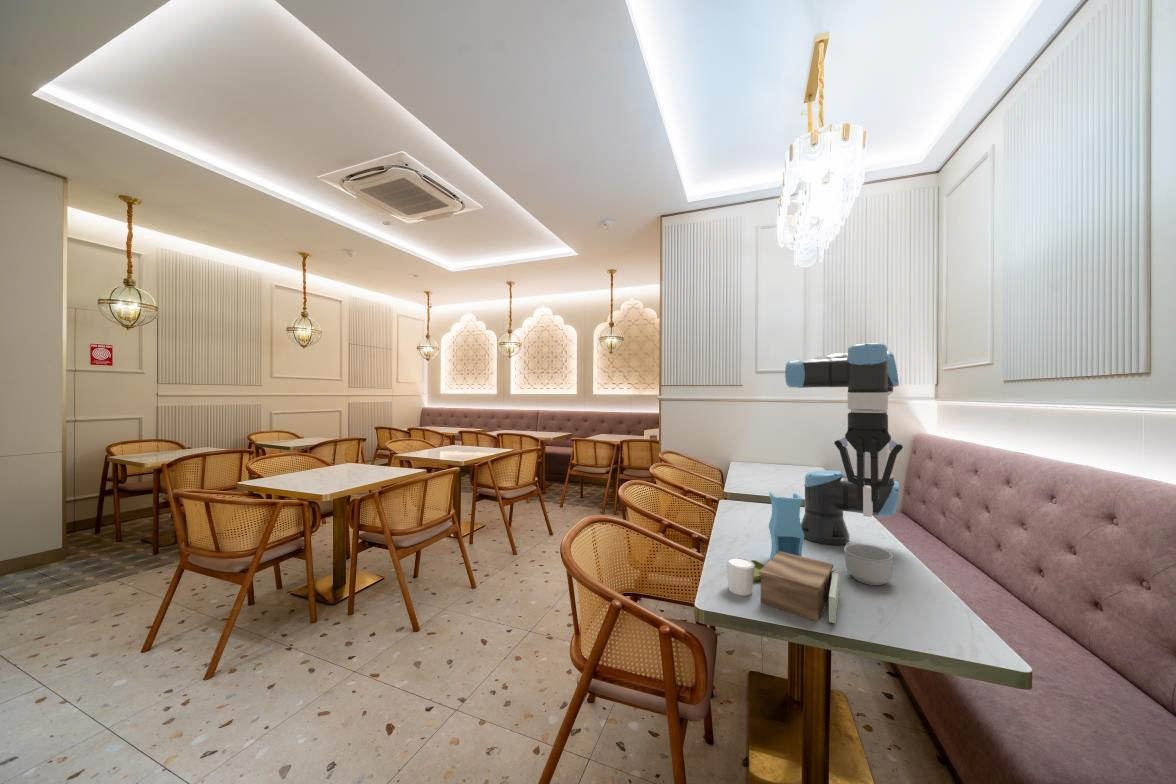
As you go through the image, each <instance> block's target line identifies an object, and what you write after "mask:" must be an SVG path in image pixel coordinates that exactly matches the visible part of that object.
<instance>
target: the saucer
mask: <svg viewBox="0 0 1176 784" xmlns="http://www.w3.org/2000/svg"><path fill="white" fill-rule="evenodd" d="M750 561H751V562H753V563H754V564H755V567H754V577H753V582H756V581H761V574H759V571H760V570H761V569H762V568H763V567H764V566H765V565H766V564H763V563H762V562H760V561H758V560H754V559H752V560H751V559H750Z"/></svg>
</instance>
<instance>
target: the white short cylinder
mask: <svg viewBox="0 0 1176 784" xmlns="http://www.w3.org/2000/svg"><path fill="white" fill-rule="evenodd" d="M725 564H726V576H727V577H726V578H727V585H728V586H727V587H728V590H729V591H730V592H731V593H732V594H735V595H737V596H738V595H739V596H744V597H745V596H750V595H752V593H753V587H754V581H753V577H754V567H755V564H754V563H753V562H751V559H750V560H749V559H747V558H743V557H729V558H727V559H726V561H725Z"/></svg>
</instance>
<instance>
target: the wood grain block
mask: <svg viewBox="0 0 1176 784" xmlns="http://www.w3.org/2000/svg"><path fill="white" fill-rule="evenodd" d="M764 565H765V566H764V567H763V568H762V569H761V570H760V571H759V574H761V580H760V604H765V605H767V606H770V607H773V608H776V609H779V610H782V611H784V612H788V613H790V614H794V615H797V616H800V617H803V618H806V619H808V620H809V619H810V620H812V621H815V622H819V620H820V618H821V617H822V615H823V612H824V610H825V609H826V607H827V605H828V604H829V592H830V586H831V580H832V571H833V568H834V563H830V562H827V561H826V562H825V561H821V560H818V559H813V558H809V557H805V556H803V555H802V556H798V555H793V554H789V553H785V552H781V551H779V552H778V553H777V554H776V555H775V556H774V557H773V558H772V559H770V560H769V561H767V563H766V564H764Z"/></svg>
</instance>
